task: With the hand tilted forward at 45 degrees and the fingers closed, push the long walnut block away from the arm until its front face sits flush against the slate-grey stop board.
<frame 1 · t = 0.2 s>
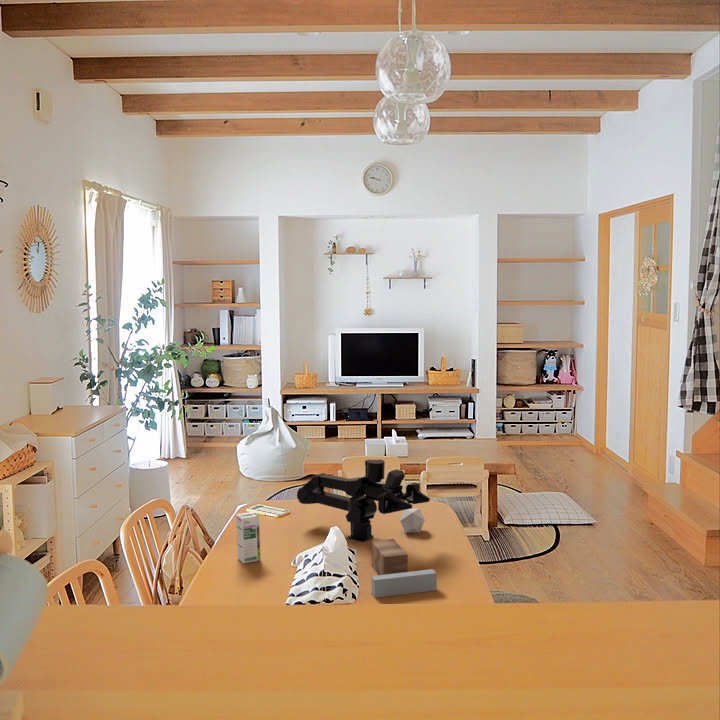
hand: (420, 503, 241), 17 cm above the table, tool horizontal, fingers open, 9 cm apart
die: (412, 532, 265), on the table
walnut block: (389, 573, 227), on the table
syrup box: (248, 560, 240), on the table
stop board: (404, 591, 213), on the table
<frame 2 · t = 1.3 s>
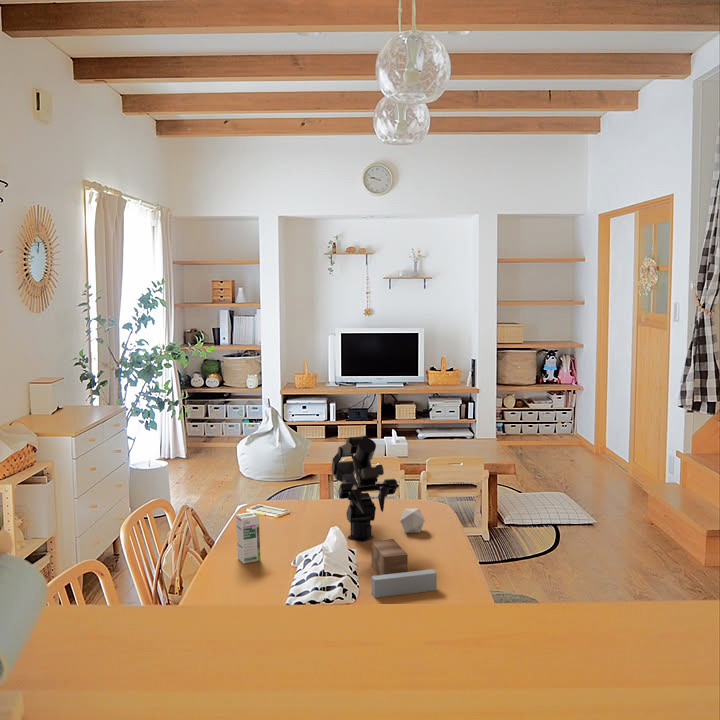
hand: (373, 512, 242), 14 cm above the table, tool tilted 45°, fingers open, 6 cm apart
nothing on the table moved.
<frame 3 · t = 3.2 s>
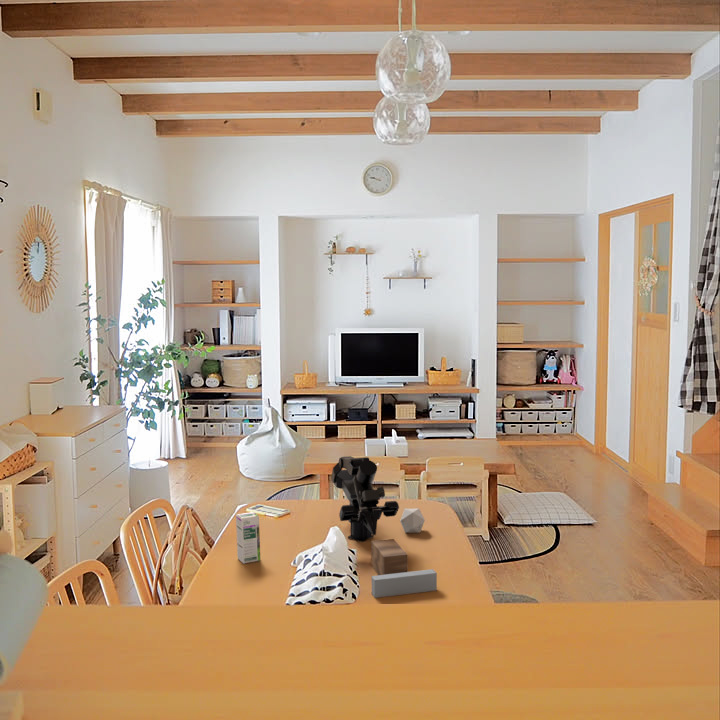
hand: (374, 534, 241), 7 cm above the table, tool tilted 45°, fingers closed
nothing on the table moved.
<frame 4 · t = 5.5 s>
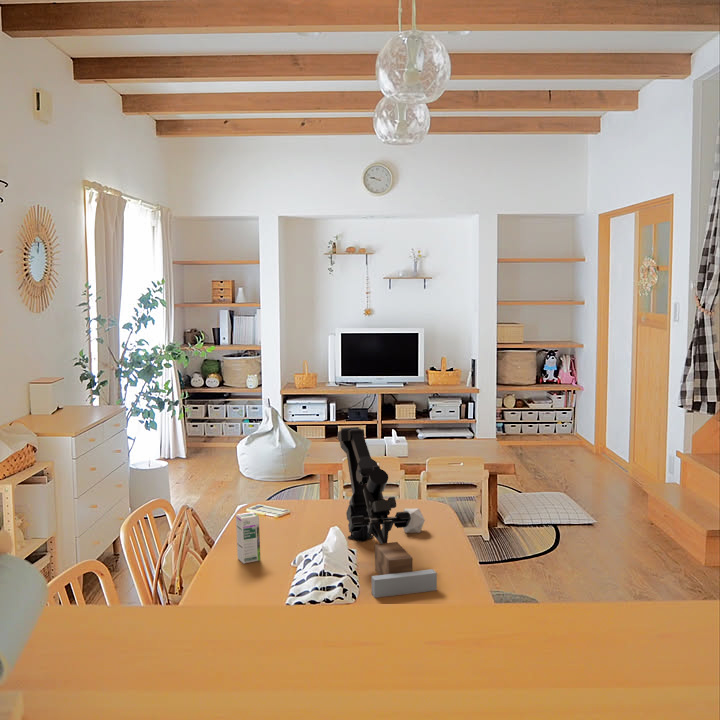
hand: (385, 547, 230), 7 cm above the table, tool tilted 45°, fingers closed, pressing on walnut block
walnut block: (393, 577, 224), on the table, touching gripper
everything else where it was.
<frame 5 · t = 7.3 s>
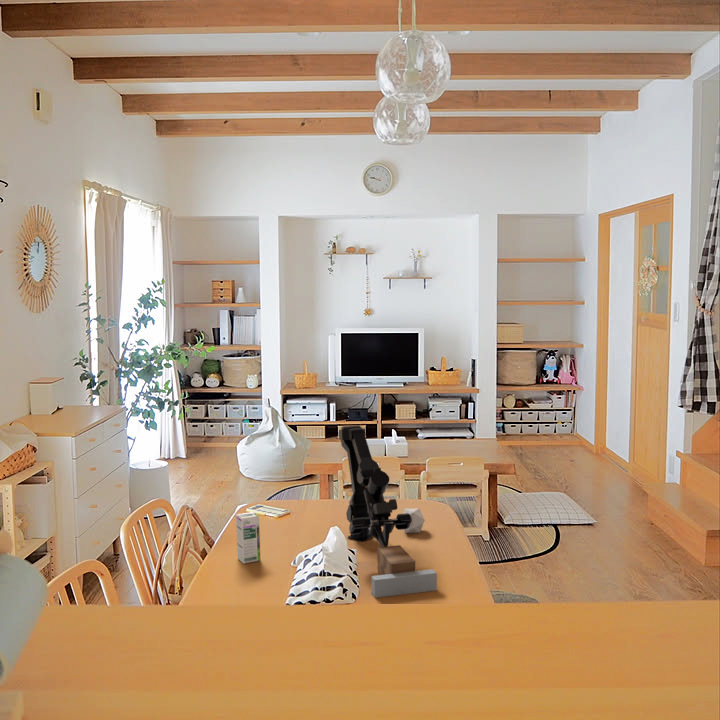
hand: (386, 549, 229), 6 cm above the table, tool tilted 45°, fingers closed
walnut block: (396, 581, 221), on the table
everything else where it was.
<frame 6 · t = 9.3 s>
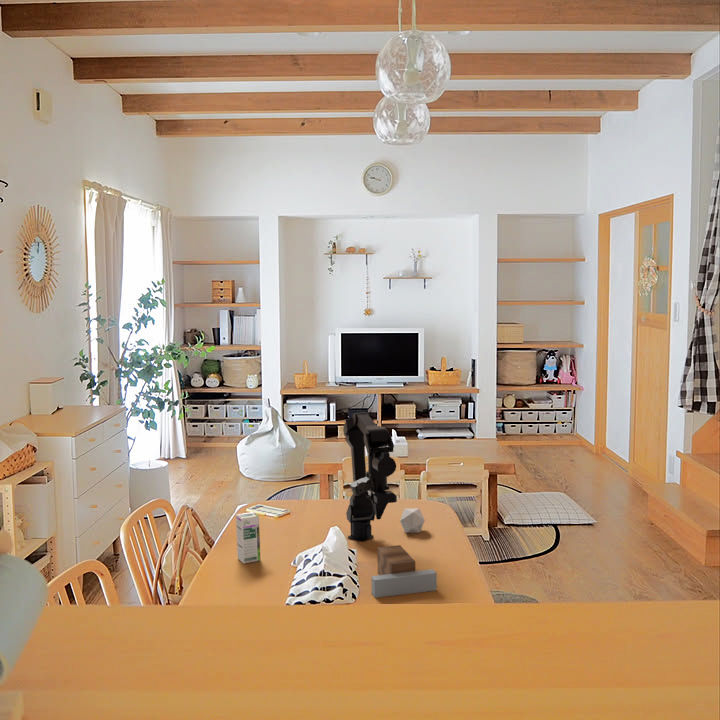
hand: (378, 519, 236), 13 cm above the table, tool pointing down, fingers closed
nothing on the table moved.
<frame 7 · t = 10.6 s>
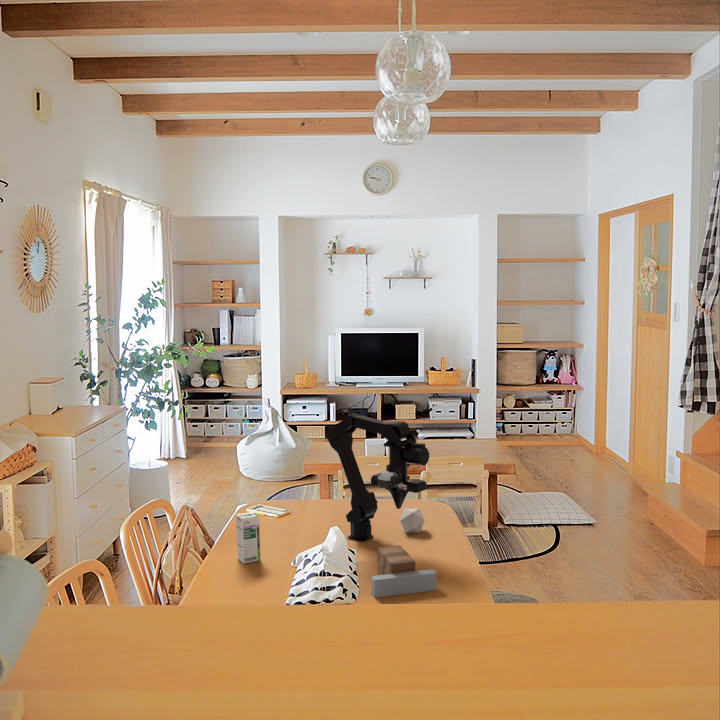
hand: (398, 508, 247), 13 cm above the table, tool pointing down, fingers closed
nothing on the table moved.
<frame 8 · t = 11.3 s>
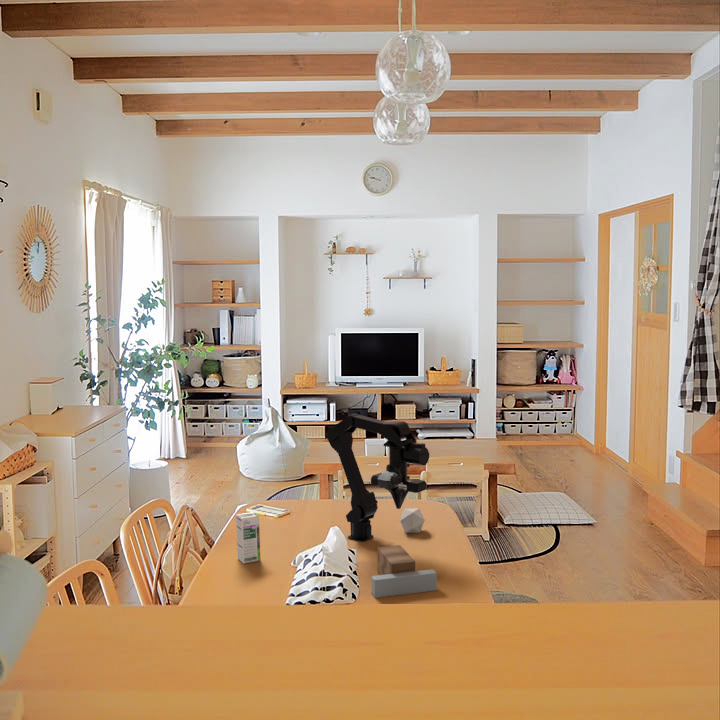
hand: (398, 508, 247), 13 cm above the table, tool pointing down, fingers closed
nothing on the table moved.
at the end: walnut block 0.4 cm from the target spot on the table beside the stop board, on the table; walnut block tilted 0°; walnut block moved 5.9 cm from its start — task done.
